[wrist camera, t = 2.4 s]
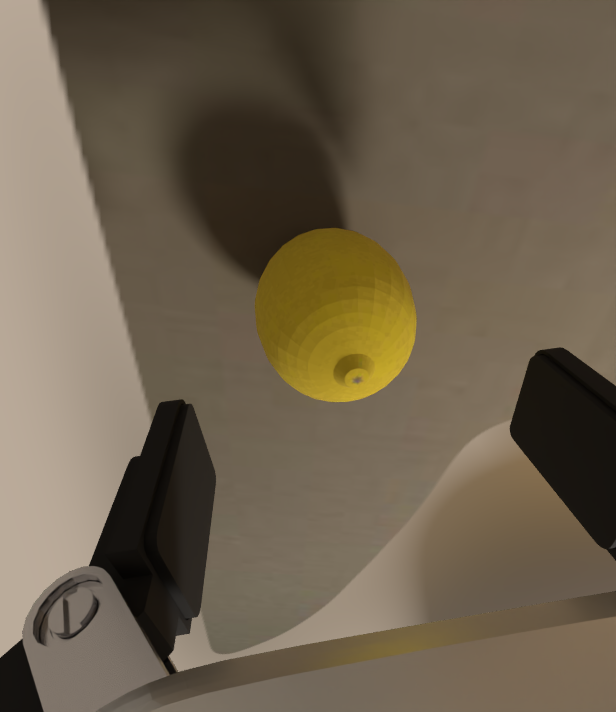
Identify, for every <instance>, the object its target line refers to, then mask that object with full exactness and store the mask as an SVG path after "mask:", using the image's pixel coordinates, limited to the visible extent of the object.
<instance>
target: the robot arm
mask: <svg viewBox="0 0 616 712" xmlns="http://www.w3.org/2000/svg"><path fill="white" fill-rule="evenodd" d="M510 433H511V436H512V438H513V439H514V441H515V442H516V443H517V445H518V446H519V447H520V449H521V450H522V451H523V452H524V454H525V455H526V456H527V457H528V458H529V460H530V461H531V462H532V463H533V465H534V466H535V467H536V468H537V470H538V471H539V472H540V473H541V475H542V476H543V477H544V478H545V480H546V481H547V482H548V483H549V485H550V486H551V487H552V488H553V490H554V491H555V492H556V493H557V495H558V496H559V497H560V498H561V499H562V501H563V502H564V503H565V505H566V506H567V507H568V508H569V510H570V511H571V512H572V513H573V515H574V516H575V517H576V518H577V519H578V521H579V522H580V523H581V524H582V526H583V527H584V528H585V529H586V531H587V532H588V533H589V534H590V536H591V537H592V538H593V539H594V540H595V542H596V543H597V544H598V545H599V546H600V547H602V548H604V549H607V550H608V552H609V553H610V554H611V555H612V556H613V558H614V559H615V560H616V386H615V385H614V384H612V383H611V382H610V381H608V380H607V379H605V378H604V377H603V376H601V375H600V374H599V373H597V372H596V371H595V370H593V369H592V368H591V367H589V366H588V365H586V364H585V363H584V362H582V361H581V360H580V359H578V358H577V357H576V356H574V355H573V354H572V353H570V352H569V351H567V350H566V349H564V348H553V349H545V350H540V351H538V352H537V353H536V354H535V356H534V357H532V358H531V359H530V361H529V364H528V367H527V371H526V374H525V378H524V381H523V384H522V388H521V391H520V394H519V398H518V401H517V404H516V408H515V411H514V415H513V418H512V421H511V425H510ZM215 485H216V475H215V470H214V467H213V464H212V461H211V458H210V455H209V452H208V449H207V446H206V443H205V440H204V437H203V434H202V431H201V428H200V426H199V423H198V420H197V417H196V414H195V411H194V408H193V406H192V404H185V402H184V400H182V399H181V400H174V401H166V402H161V403H159V405H158V408H157V410H156V413H155V416H154V419H153V421H152V424H151V427H150V430H149V433H148V435H147V438H146V441H145V444H144V446H143V449H142V452H141V455H140V456H137V457H133V458H132V459H131V460H130V462H129V464H128V466H127V469H126V471H125V474H124V477H123V479H122V482H121V484H120V487H119V489H118V492H117V495H116V497H115V500H114V502H113V505H112V508H111V510H110V513H109V516H108V518H107V520H106V523H105V526H104V528H103V531H102V533H101V536H100V539H99V541H98V544H97V546H96V549H95V552H94V554H93V557H92V560H91V562H90V564H89V566H86V567H81V568H78V569H75V570H72V571H70V572H68V573H67V574H65V575H63V576H62V577H60V578H58V579H57V580H56V581H55V582H53V583H52V584H51V585H50V586H49V587H48V588H47V589H45V590H44V592H43V593H42V594H41V595H40V597H39V598H38V599H37V600H36V601H35V603H34V604H33V606H32V608H31V610H30V612H29V614H28V615H27V617H26V620H25V624H24V628H23V631H22V634H23V639H22V640H21V641H19V642H18V643H17V644H16V645H15V646H13V647H12V648H11V649H10V650H9V651H8V652H7V653H6V654H4V655H3V656H2V657H1V658H0V712H616V591H614V592H608V593H602V594H596V595H590V596H584V597H578V598H572V599H566V600H560V601H554V602H548V603H542V604H536V605H531V606H524V607H519V608H513V609H507V610H501V611H495V612H489V613H483V614H478V615H472V616H466V617H460V618H455V619H449V620H443V621H438V622H431V623H425V624H420V625H414V626H408V627H403V628H397V629H391V630H386V631H380V632H374V633H369V634H363V635H357V636H352V637H346V638H341V639H335V640H329V641H324V642H318V643H312V644H306V645H301V646H296V647H291V648H285V649H281V650H275V651H270V652H266V653H260V654H255V655H250V656H245V657H240V658H235V659H229V660H224V661H220V662H216V663H212V664H208V665H204V666H201V667H196V668H192V669H189V670H185V671H181V672H178V670H177V669H176V667H175V665H174V664H173V662H172V661H171V659H170V657H169V655H170V654H171V653H172V651H173V650H174V643H175V637H176V636H177V635H184V634H189V633H190V628H191V621H192V618H194V617H198V615H199V612H200V608H201V600H202V592H203V584H204V576H205V567H206V559H207V551H208V543H209V535H210V526H211V518H212V510H213V502H214V494H215Z"/></svg>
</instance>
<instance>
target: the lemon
mask: <svg viewBox="0 0 616 712" xmlns="http://www.w3.org/2000/svg"><path fill="white" fill-rule="evenodd" d="M255 315H256V326H257V332H258V335H259V338H260V340H261V343H262V346H263V348H264V351H265V353H266V356H267V358H268V360H269V361H270V363H271V364H272V366H273V367H274V368H275V370H276V371H277V372H278V374H279V375H280V376H281V377H282V378H283V379H284V381H285V382H287V383H288V384H289V385H291V386H292V387H293V388H295V389H296V390H297V391H299V392H301V393H303V394H305V395H307V396H310V397H312V398H315V399H319V400H324V401H329V402H348V401H353V400H358V399H362V398H364V397H367V396H369V395H372V394H374V393H376V392H377V391H379V390H380V389H382V388H383V387H385V386H386V385H387V384H389V383H390V382H391V381H392V380H393V379H394V378H395V377H396V376H397V375H398V374H399V373H400V371H401V370H402V368H403V367H404V365H405V364H406V362H407V361H408V358H409V356H410V353H411V350H412V347H413V344H414V342H415V333H416V319H417V318H416V311H415V306H414V301H413V297H412V293H411V289H410V286H409V283H408V281H407V279H406V278H405V276H404V274H403V272H402V271H401V269H400V267H399V266H398V264H397V262H396V261H395V259H394V258H393V257H392V256H391V255H390V254H389V253H387V252H386V251H385V250H384V249H383V248H382V247H381V246H380V245H379V244H378V243H376V242H375V241H373V240H371V239H369V238H367V237H365V236H363V235H361V234H359V233H357V232H355V231H350V230H345V229H339V228H325V229H315V230H312V231H309V232H306V233H303V234H300V235H298V236H296V237H295V238H293V239H292V240H290V241H289V242H287V243H286V244H284V245H283V246H282V247H281V248H280V249H279V250H278V251H277V253H276V254H275V255H274V256H273V257H272V258H271V259H270V260H269V262H268V264H267V266H266V268H265V270H264V272H263V274H262V276H261V278H260V281H259V285H258V290H257V294H256V299H255Z"/></svg>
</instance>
